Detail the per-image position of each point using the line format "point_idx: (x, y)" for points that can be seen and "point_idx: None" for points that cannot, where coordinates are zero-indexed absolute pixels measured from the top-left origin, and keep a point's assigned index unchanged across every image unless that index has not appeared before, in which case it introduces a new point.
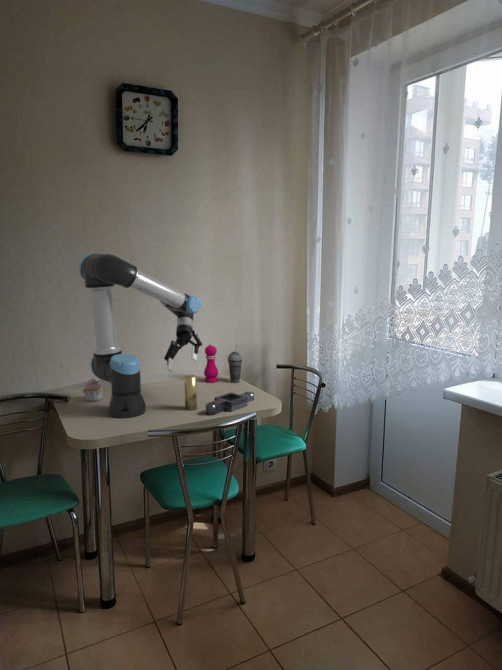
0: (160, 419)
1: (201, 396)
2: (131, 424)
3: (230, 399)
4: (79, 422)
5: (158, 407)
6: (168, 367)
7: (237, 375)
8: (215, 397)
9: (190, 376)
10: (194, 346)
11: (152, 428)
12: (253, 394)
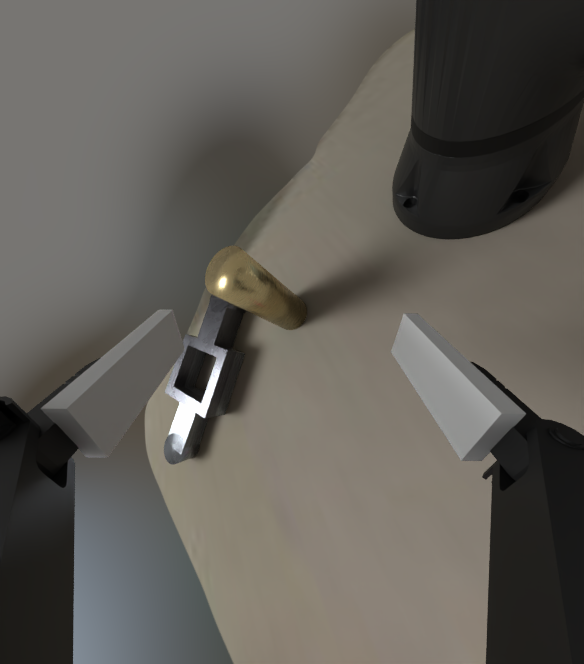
0: (321, 212)
1: (315, 435)
2: (367, 147)
3: None
4: None
5: (388, 271)
6: (416, 322)
7: None
8: (225, 353)
9: (224, 271)
10: (44, 429)
11: (307, 170)
12: (166, 443)
